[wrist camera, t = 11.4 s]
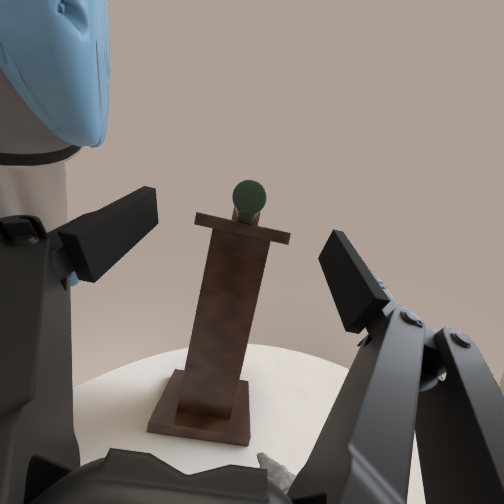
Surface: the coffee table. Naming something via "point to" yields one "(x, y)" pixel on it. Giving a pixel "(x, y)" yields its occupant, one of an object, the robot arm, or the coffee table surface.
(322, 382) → the coffee table surface
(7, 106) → the robot arm
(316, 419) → the coffee table surface
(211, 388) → the stand
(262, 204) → the brush
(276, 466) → the seashell
